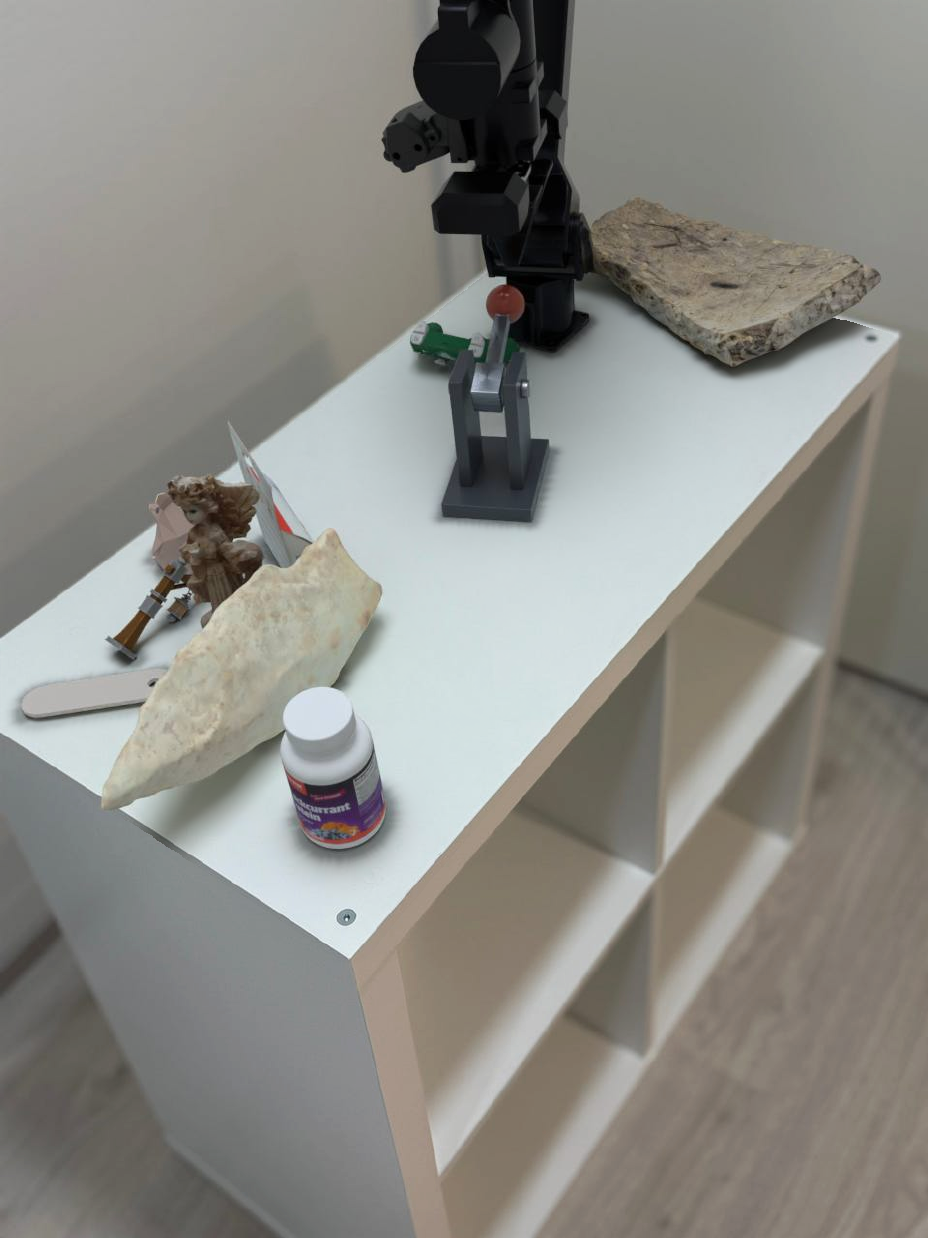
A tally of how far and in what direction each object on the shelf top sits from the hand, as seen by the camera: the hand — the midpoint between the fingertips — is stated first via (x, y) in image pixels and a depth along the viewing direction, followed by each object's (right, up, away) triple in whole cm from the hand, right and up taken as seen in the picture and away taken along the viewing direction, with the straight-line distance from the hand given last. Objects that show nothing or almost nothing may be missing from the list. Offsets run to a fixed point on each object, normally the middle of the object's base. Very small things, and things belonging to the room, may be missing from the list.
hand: (512, 264), depth 98 cm
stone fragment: (+12, 0, +12) cm, 17 cm away
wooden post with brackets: (-26, -28, -7) cm, 39 cm away
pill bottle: (-11, -40, -21) cm, 46 cm away
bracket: (-1, -17, +1) cm, 17 cm away
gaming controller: (-4, -5, +15) cm, 16 cm away
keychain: (-29, -34, -13) cm, 46 cm away
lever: (-1, -8, -2) cm, 8 cm away
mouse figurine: (-24, -24, -2) cm, 34 cm away
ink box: (-16, -24, -4) cm, 29 cm away
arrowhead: (-13, -24, -10) cm, 29 cm away
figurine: (-19, -30, -10) cm, 37 cm away
